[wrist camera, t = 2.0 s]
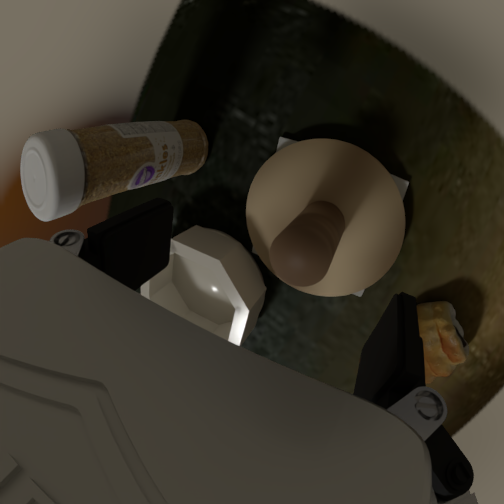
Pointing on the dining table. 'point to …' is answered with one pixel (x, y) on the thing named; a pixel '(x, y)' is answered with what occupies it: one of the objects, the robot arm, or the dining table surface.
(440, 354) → the pastry
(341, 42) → the dining table surface
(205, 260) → the bowl
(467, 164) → the dining table surface
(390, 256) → the lid
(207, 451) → the robot arm
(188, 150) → the sprinkles bottle
